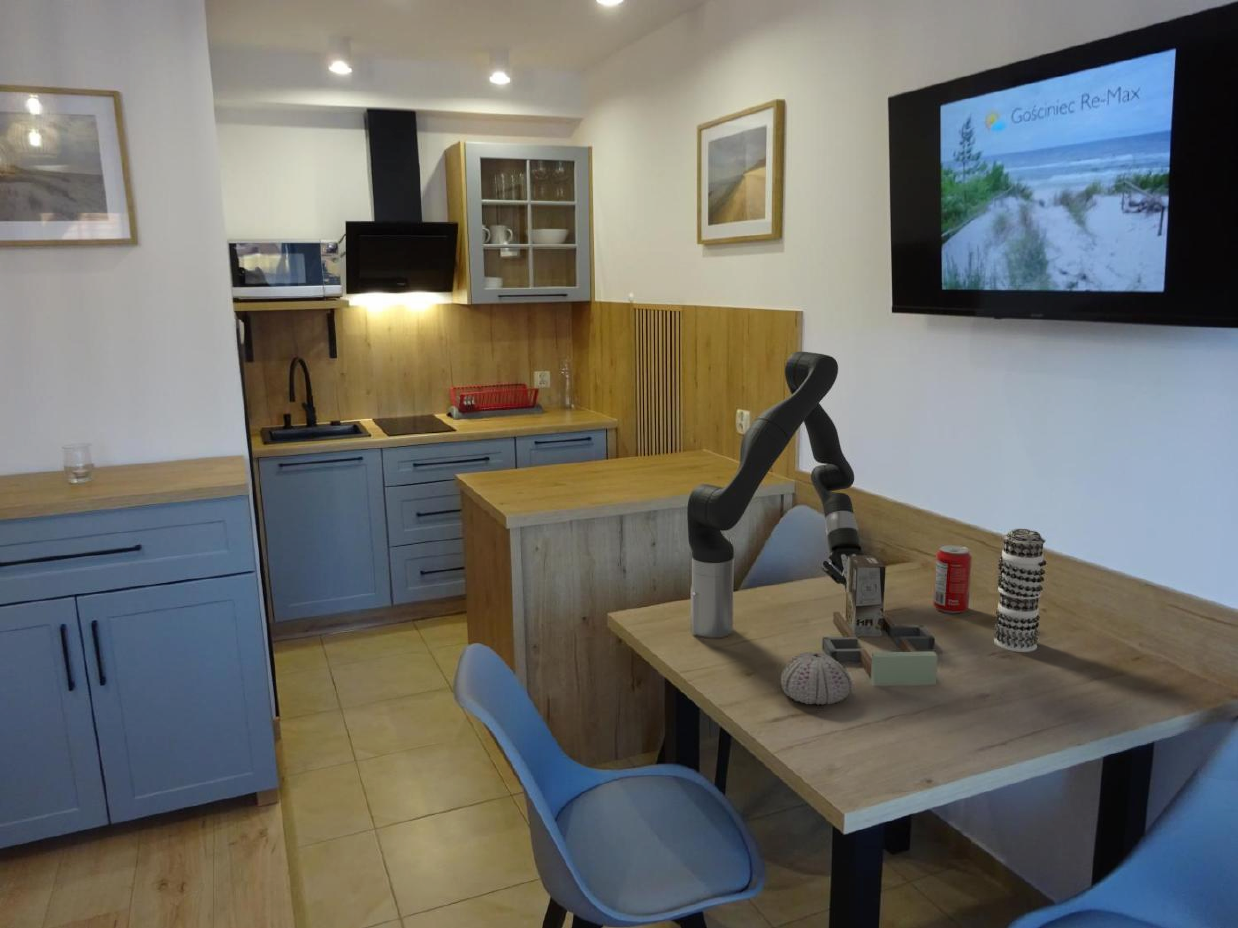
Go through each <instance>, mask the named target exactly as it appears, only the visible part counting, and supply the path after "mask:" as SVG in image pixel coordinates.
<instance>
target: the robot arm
mask: <svg viewBox="0 0 1238 928" xmlns="http://www.w3.org/2000/svg"><path fill="white" fill-rule="evenodd" d="M838 375H839V363H838V361H837V359H836V358H834V357H833V356H831V355H827V354H823V353H816V352H809V351H796V352H795V351H794V352H793V353H792V354H790V355H789V356H788V358H787V360H786V363H785V366H784V376H785V377H784V378H785V381H786V384H787V388H788V390H789V392H790V394H791V395H789V396H787V397H786V398H785V399H783V400H781V401H779V402H778V403H777V402H776V404H774V405H772V406H770V407H769V408H767V409H765V410H763V412H761V413H760V414H759V415H758V416H757V417H756V418H755V419H754V421H753V422H752V423H751V425H750V426H749V428H748V429H747V431H746V432H744V435H743V437H742V439H741V443H740V449H739V451H740V452H739V467H738V469H737V471H736V473H735V475H734V476H733V478H732V479H731V480H730V481H729V483H728V484H727V485H726V486H723V487H722V486H717V485H713V484H709V483H703V484H699V485H696V486H695V487H694V488H693V490H692V491H691V492H690V495H689V496H688V497H689V498H688V499H687V507H686V508H687V509H686V511H687V513H686V514H687V516H686V517H687V536H688V544H689V547H690V549H691V586H690V629H691V633H692V634H691V635H692V636H699V637H703V638H711V639H712V638H713V639H714V638H724V637H728V636H729V635H731V634H733V631H734V629H733V626H734V577H735V576H734V572H735V571H734V570H735V568H734V567H735V566H734V565H735V563H734V562H735V561H734V560H735V559H734V558H735V551H734V550H735V549H734V545H733V544H732V542H730V541H729V540H728V539H727V538H726V537H725V536H724V535H723V533H722V532H725V531H726V532H727V531H729V530H731V529H733V528H734V527H735V526H736V525H737V524H738V523H739V521H740V520H741V519H742V517H743V515H744V513H745V512H746V510H747V508H748V506H749V504H750V503H751V501H752V499H753V497H754V495H755V494H756V492H757V490H758V488H760V487H759V486H760V485H761V483H762V482H763V480H764V479H765V477H766V476H767V474H768V473H769V471H770V470H771V468H772V466H773V465H774V464H775V463H776V461H777V460H778V458H779V457H780V456H781V454H782V453H783V452H784V450H785V449H786V447H787V446H788V444H789V443H790V441H791V440H792V437H793V436H794V435H795V433H797V431H798V429H799V428H800V427H801V425H802V424H803V423H804V426H805V428H806V432H807V436H808V440H809V444H810V448H811V452H812V457H813V459H814V460H815V462H817V463H818V464H820V465H817V466H815V467H813V469H812V470H811V473H810V481H811V483H812V485H813V487H814V489H815V491H816V492H817V495H818V497H819V499H820V501H821V505H822V509H823V514H824V521H825V522H824V523H825V534H826V539H827V544H828V550H829V556H828V559H827V560H824V561H823V562H822V564H821V567H820V568H821V570H822V571H823V572H824V573H825V574H826V575H828V576H829V578H830V579H832V581H834V582H835V584H837V585H843V586H844V591H846V589H847V561H848V556H860V555H865V554H864V552H863V549H862V543H861V540H860V535H859V534H860V533H859V529H858V524H857V520H856V517H855V514H854V509H853V508H854V507H853V503H852V499H851V497H850V495H849V494H847V493H844V492H835V491H840V490H841V491H842V490H845V489H849V488H851V487H852V486H853V484H854V481H855V473H854V469H853V468H852V466H851V464H850V463H849V461H848V460H847V458H846V457H845V454H844V453H843V450H842V448H841V447H842V446H841V442H840V438H839V434H838V429H837V427H836V425H835V423H834V422H833V421H834V420H832V418H831V417H830V415H828V412H826V410H825V409H824V408H823V407H822V405H821V403H820V402H821V401H822V400H823V399H824V398H825V397H826V395H827V394H828V393H830V392H829V391H831V389H832V388H833V386H834V384H835V382H836V380H837V378H838Z"/></svg>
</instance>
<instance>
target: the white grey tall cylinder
mask: <svg viewBox="0 0 1238 928" xmlns="http://www.w3.org/2000/svg"><path fill="white" fill-rule="evenodd" d="M1002 538H1003V540H1004V541H1003V549H1002V550H1001V552H1002V553H1001V554H1000V556H999V557H997V558H998V567H997V568H998V570H999V572H998V573H997V575H998V576H997V577H998V580H997V585H998V587H997V591H998V592H999V602H997V604H998V605H997V610H996V612H995V614H996V617H995V622H996V624H995V625H994V630H995V631H994V634H993V635H994V636H993V637H995V638H994V639H993V641H994V644H995V645H996V646H998V648H1001V649H1004V650H1006V651H1011V652H1015V653H1016V652H1017V653H1030V652H1034V651H1035V650H1037V648H1038V645H1037V643H1038V639H1039V638H1038V636H1039V630H1038V629H1037V628H1039V626H1040V623H1039V621H1040V619H1041V618H1040V615H1039V614H1040V613H1039V612H1040V608H1039V603H1040V602H1039V598H1040V597H1041V596H1042V595H1043V594H1042V591H1043V590H1044V587H1043V586H1042V585H1040V583H1043V582H1044V581H1045V578H1044V577H1043V575H1045V574H1046V571H1045V570H1044V569H1043V568H1042V567H1043V566H1046V565H1047V561H1046V560H1045V559H1044V556H1045V555H1044V553H1043V552H1044V543H1046V538H1043V537H1042V536H1041V534H1040V533H1039V532H1038V531H1035V530H1032V529H1027V528H1014V529H1011V530H1009V531H1008V533H1007V534H1005V535H1003V536H1002Z"/></svg>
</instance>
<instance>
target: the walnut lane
mask: <svg viewBox="0 0 1238 928" xmlns="http://www.w3.org/2000/svg"><path fill="white" fill-rule="evenodd" d="M832 616H833V617H832V618H833V619H832V623H833V624H834V625H835V627H836V629H837V630H838V632H839V633H840V635H841V637H856V636H855V634H854V633H853V631H852V630H851V628H850V627H849V626H848V624H847V623H846V621H845V618H844V617H843V616H842V614H841V613H840V612H839V611H833V615H832ZM890 626H896V625H895V623H894V622H893V621H892V620H891V618H890V617H889V616H888V615H887V614H886V612H884V611H883V626H882V630H884V632H886V635H888V636H889V632H890ZM899 650H900V652H918V651H917V650H915V648H914V647H913V646H912V645H911V644H910V642H909V641H908V640H907V639H901V642H900V649H899ZM859 663H860V665H861V667H862V669H864V671H865V672H866V674H867V676H868V677H869V679H871V667H872V656H871V655H870V654H869V653H868V651H867V650H866V651H860V662H859Z"/></svg>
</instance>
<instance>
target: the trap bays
mask: <svg viewBox="0 0 1238 928" xmlns="http://www.w3.org/2000/svg"><path fill="white" fill-rule="evenodd" d="M888 636H889V638H890V639H891V641H893V643H894V644H895V646H897V648H898V649H899V650H900V642H901V639H907V640H908V641H909V642H910V644H911V645H912V646H913V647H914V648H915V650H916V651H917V650H919V651H920V650H935V637H934V636H933V635H932V633H930V632H929V630H928V629H927V628H926V627H925V626H924V625H923V624H918V625H917V624H914V625H913V624H909V625H907V624H906V625H901V624H899V625H895V626H890V632H889V635H888ZM858 644H859V639H858V637H843V636H834V637H833V636H830V637H829V636H827V637H825V636H824V637H822V644H821V646H822V647H821V648H822V650H823V653H824V654H827V655H828V656H831V658H834V660H836V661H837V662H839V664H841V663H842V664H843V663H848V664H849V663H850V664H851V663H860V651H867V650H866V649H865V648H858V647H859V645H858Z"/></svg>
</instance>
